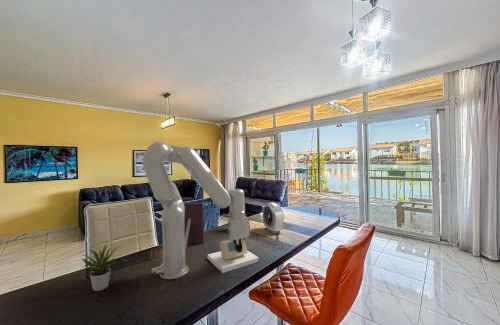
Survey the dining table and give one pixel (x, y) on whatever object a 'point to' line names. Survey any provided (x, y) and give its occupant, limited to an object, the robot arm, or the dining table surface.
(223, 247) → the carton
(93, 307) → the dining table surface
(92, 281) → the house plant
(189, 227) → the picture frame
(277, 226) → the alarm clock
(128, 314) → the dining table surface
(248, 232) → the robot arm
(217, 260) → the display podium
